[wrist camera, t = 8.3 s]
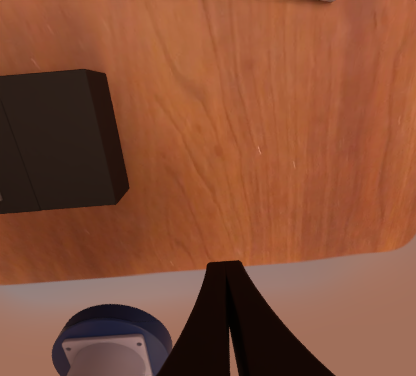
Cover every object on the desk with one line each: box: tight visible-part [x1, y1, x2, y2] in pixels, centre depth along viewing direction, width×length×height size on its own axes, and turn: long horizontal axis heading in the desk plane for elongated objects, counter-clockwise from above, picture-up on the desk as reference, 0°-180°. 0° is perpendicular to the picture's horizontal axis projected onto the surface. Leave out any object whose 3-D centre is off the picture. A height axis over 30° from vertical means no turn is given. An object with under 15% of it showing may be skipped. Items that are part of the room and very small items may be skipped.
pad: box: [0, 69, 129, 210], centre depth 16 cm, size 8×5×3 cm, turn 4°
